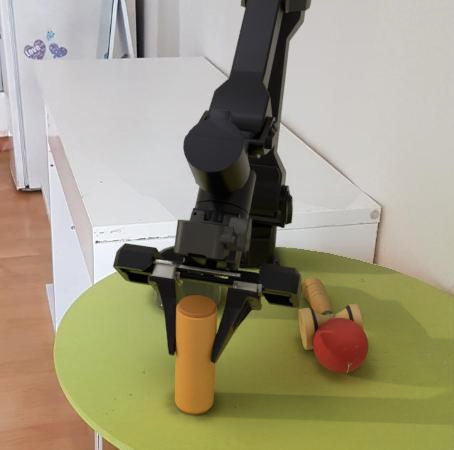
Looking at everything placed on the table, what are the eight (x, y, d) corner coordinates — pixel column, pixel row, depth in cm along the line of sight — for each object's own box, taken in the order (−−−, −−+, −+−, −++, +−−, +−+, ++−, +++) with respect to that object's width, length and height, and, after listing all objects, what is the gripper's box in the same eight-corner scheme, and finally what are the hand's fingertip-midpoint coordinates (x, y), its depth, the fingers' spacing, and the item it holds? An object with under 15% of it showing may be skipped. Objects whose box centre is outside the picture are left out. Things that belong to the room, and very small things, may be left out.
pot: (153, 281, 100) (153, 244, 98) (218, 280, 101) (219, 244, 99) (153, 316, 93) (153, 277, 90) (223, 315, 93) (224, 277, 91)
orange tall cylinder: (174, 391, 80) (176, 293, 74) (212, 391, 80) (216, 293, 75) (175, 416, 76) (176, 315, 71) (214, 415, 76) (219, 315, 71)
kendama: (275, 308, 97) (304, 377, 80) (286, 263, 96) (319, 324, 79) (332, 317, 99) (373, 387, 81) (344, 272, 97) (388, 334, 80)
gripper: (117, 169, 73) (77, 325, 68) (308, 193, 69) (281, 360, 64) (143, 211, 84) (110, 348, 79) (311, 233, 80) (287, 380, 75)
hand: (191, 358), depth 74 cm, fingers closed on orange tall cylinder, 4 cm apart
